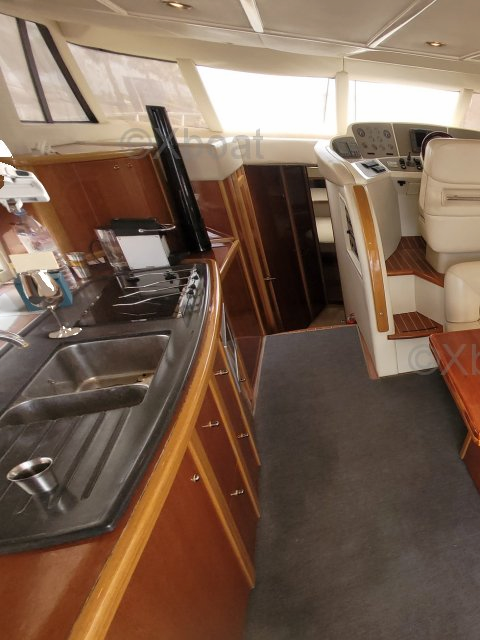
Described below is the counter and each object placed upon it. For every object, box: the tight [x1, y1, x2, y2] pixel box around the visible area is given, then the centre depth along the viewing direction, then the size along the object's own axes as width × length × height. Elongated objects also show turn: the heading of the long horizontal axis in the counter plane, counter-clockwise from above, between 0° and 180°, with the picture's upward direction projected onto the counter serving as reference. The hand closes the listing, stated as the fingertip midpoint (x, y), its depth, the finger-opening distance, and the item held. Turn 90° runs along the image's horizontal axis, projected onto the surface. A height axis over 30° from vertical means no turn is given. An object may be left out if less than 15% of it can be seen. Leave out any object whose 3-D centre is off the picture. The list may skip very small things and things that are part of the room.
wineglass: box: [19, 269, 82, 339], centre depth 118 cm, size 8×8×20 cm
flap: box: [8, 250, 60, 274], centre depth 140 cm, size 6×11×1 cm
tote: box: [12, 270, 73, 312], centre depth 140 cm, size 13×11×10 cm
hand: (14, 211), depth 140 cm, fingers closed
